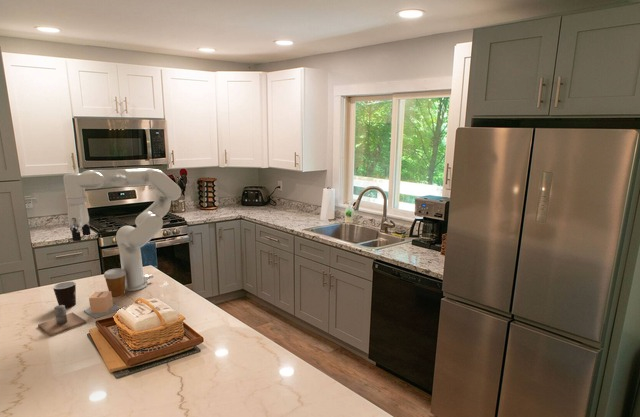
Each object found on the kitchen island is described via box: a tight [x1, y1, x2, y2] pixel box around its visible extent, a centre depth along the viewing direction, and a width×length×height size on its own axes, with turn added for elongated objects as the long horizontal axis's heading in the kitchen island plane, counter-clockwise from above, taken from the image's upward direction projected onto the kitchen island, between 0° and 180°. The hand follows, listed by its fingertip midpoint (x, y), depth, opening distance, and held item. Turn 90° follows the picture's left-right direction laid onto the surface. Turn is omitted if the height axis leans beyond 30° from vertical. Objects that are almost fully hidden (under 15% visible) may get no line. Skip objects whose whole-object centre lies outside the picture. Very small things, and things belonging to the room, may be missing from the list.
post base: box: [37, 305, 87, 337], centre depth 161 cm, size 13×13×8 cm
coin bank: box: [88, 290, 114, 313], centre depth 173 cm, size 7×7×7 cm
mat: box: [83, 303, 122, 319], centre depth 174 cm, size 11×11×1 cm
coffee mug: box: [52, 280, 77, 310], centre depth 180 cm, size 12×9×10 cm
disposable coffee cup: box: [103, 268, 126, 299], centre depth 189 cm, size 10×10×12 cm
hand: (82, 237), depth 179 cm, fingers open, 9 cm apart
